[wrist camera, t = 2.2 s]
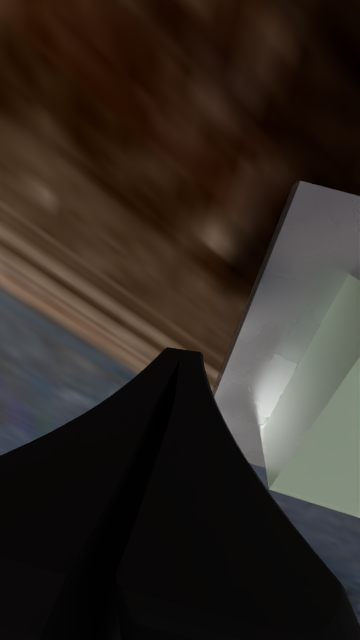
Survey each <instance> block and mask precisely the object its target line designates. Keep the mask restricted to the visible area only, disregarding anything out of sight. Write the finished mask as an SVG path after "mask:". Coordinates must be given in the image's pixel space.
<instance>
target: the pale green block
mask: <svg viewBox="0 0 360 640" xmlns="http://www.w3.org/2000/svg"><path fill="white" fill-rule="evenodd" d="M260 433H261V440H262V446H263V453H264V459H265V466H266V473H267V479H268V486H269V489H270V490H273V491H276V492H279V493H283V494H286V495H289V496H292V497H295V498H298V499H302V500H305V501H308V502H311V503H314V504H318V505H321V506H324V507H327V508H330V509H334V510H337V511H340V512H343V513H346V514H350V515H353V516H356V517H359V518H360V277H357V276H354V275H350V274H349V275H348V277H347V278H346V280H345V282H344V284H343V286H342V287H341V289H340V291H339V293H338V295H337V296H336V298H335V300H334V302H333V303H332V305H331V307H330V309H329V311H328V312H327V314H326V316H325V318H324V320H323V321H322V323H321V325H320V327H319V329H318V330H317V332H316V334H315V336H314V338H313V339H312V341H311V343H310V345H309V346H308V348H307V350H306V352H305V354H304V355H303V357H302V359H301V361H300V363H299V364H298V366H297V368H296V370H295V372H294V373H293V375H292V377H291V379H290V381H289V382H288V384H287V386H286V388H285V389H284V391H283V393H282V395H281V397H280V398H279V400H278V402H277V404H276V406H275V407H274V409H273V411H272V413H271V415H270V416H269V418H268V420H267V422H266V424H265V425H264V427H263V429H262V431H261V432H260Z"/></svg>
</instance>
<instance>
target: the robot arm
mask: <svg viewBox="0 0 360 640" xmlns="http://www.w3.org/2000/svg"><path fill="white" fill-rule="evenodd" d="M120 636H121V640H360V625H359V623H358V621H357V618H356V616H355V613H354V611H353V609H352V606H351V604H350V601H349V599H348V597H347V594H346V592H345V590H344V587H343V585H342V584H341V583H340V581H339V580H338V579H337V578H336V577H335V576H334V574H333V573H332V572H331V571H330V570H329V568H328V567H327V566H326V565H325V564H324V562H323V561H322V560H321V559H320V558H319V556H318V555H317V554H316V553H315V552H314V550H313V549H312V548H311V547H310V545H309V544H308V543H307V542H306V540H305V539H304V538H303V537H302V535H301V534H300V533H299V532H298V530H297V529H296V528H295V527H294V525H293V524H292V523H291V521H290V520H289V519H288V517H287V516H286V515H285V513H284V512H283V511H282V509H281V508H280V507H279V505H278V504H277V503H276V501H275V500H274V499H273V497H272V496H271V495H270V493H269V492H268V490H267V489H266V487H265V486H264V484H263V483H262V481H261V480H260V478H259V477H258V475H257V474H256V472H255V471H254V470H253V468H252V467H251V465H250V464H249V462H248V461H247V459H246V458H245V456H244V454H243V453H242V451H241V449H240V448H239V446H238V444H237V443H236V441H235V439H234V437H233V435H232V434H231V432H230V430H229V428H228V426H227V424H226V422H225V420H224V418H223V416H222V414H221V412H220V410H219V407H218V405H217V403H216V401H215V398H214V396H213V393H212V390H211V387H210V385H209V382H208V379H207V375H206V372H205V368H204V362H203V355H202V353H201V352H196V351H189V350H182V349H175V348H168V347H167V348H166V349H164V350H163V351H162V352H161V353H160V354H159V355H158V356H157V357H156V358H155V359H154V360H153V361H152V362H151V363H150V364H149V365H148V366H147V367H146V368H145V369H144V370H142V371H141V372H140V373H139V374H138V375H137V376H136V377H134V378H133V379H132V380H131V381H130V382H128V383H127V384H126V385H124V386H123V387H122V388H121V389H119V390H118V391H117V392H115V393H114V394H113V395H111V396H110V397H108V398H107V399H106V400H104V401H103V402H101V403H100V404H98V405H97V406H95V407H94V408H92V409H91V410H89V411H87V412H86V413H84V414H82V415H81V416H79V417H77V418H75V419H74V420H72V421H70V422H68V423H66V424H65V425H63V426H61V427H59V428H57V429H55V430H54V431H52V432H50V433H48V434H46V435H44V436H42V437H40V438H38V439H36V440H34V441H32V442H30V443H27V444H25V445H23V446H21V447H19V448H16V449H14V450H12V451H10V452H8V453H5V454H3V455H1V456H0V640H120Z"/></svg>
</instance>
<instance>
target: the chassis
mask: <svg viewBox="0 0 360 640" xmlns="http://www.w3.org/2000/svg"><path fill="white" fill-rule="evenodd" d="M349 274H350V275H354V276H357V277H360V196H357V195H353V194H349V193H345V192H342V191H338V190H334V189H330V188H326V187H322V186H319V185H315V184H311V183H307V182H303V181H298V182H294V183H293V185H292V188H291V190H290V193H289V195H288V198H287V201H286V203H285V206H284V208H283V211H282V213H281V216H280V219H279V221H278V224H277V226H276V229H275V231H274V234H273V237H272V239H271V242H270V244H269V247H268V249H267V252H266V255H265V257H264V260H263V262H262V265H261V267H260V270H259V273H258V275H257V278H256V280H255V283H254V285H253V288H252V291H251V293H250V296H249V298H248V301H247V303H246V306H245V309H244V311H243V314H242V316H241V319H240V321H239V324H238V327H237V329H236V332H235V334H234V337H233V339H232V342H231V345H230V347H229V350H228V352H227V355H226V357H225V360H224V363H223V365H222V368H221V370H220V373H219V375H218V378H217V381H216V383H215V386H214V388H213V391H212V393H213V396H214V398H215V401H216V403H217V405H218V407H219V410H220V412H221V414H222V416H223V418H224V420H225V422H226V424H227V426H228V428H229V430H230V432H231V434H232V435H233V437H234V439H235V441H236V443H237V444H238V446H239V448H240V449H241V451H242V453H243V454H244V456H245V458H246V459H247V461H248V462H249V463H252V464H255V465H258V466H261V467H264V468H266V466H265V459H264V453H263V446H262V440H261V433H260V432H261V431H262V429H263V427H264V425H265V424H266V422H267V420H268V418H269V416H270V415H271V413H272V411H273V409H274V407H275V406H276V404H277V402H278V400H279V398H280V397H281V395H282V393H283V391H284V389H285V388H286V386H287V384H288V382H289V381H290V379H291V377H292V375H293V373H294V372H295V370H296V368H297V366H298V364H299V363H300V361H301V359H302V357H303V355H304V354H305V352H306V350H307V348H308V346H309V345H310V343H311V341H312V339H313V338H314V336H315V334H316V332H317V330H318V329H319V327H320V325H321V323H322V321H323V320H324V318H325V316H326V314H327V312H328V311H329V309H330V307H331V305H332V303H333V302H334V300H335V298H336V296H337V295H338V293H339V291H340V289H341V287H342V286H343V284H344V282H345V280H346V278H347V277H348V275H349Z"/></svg>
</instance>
